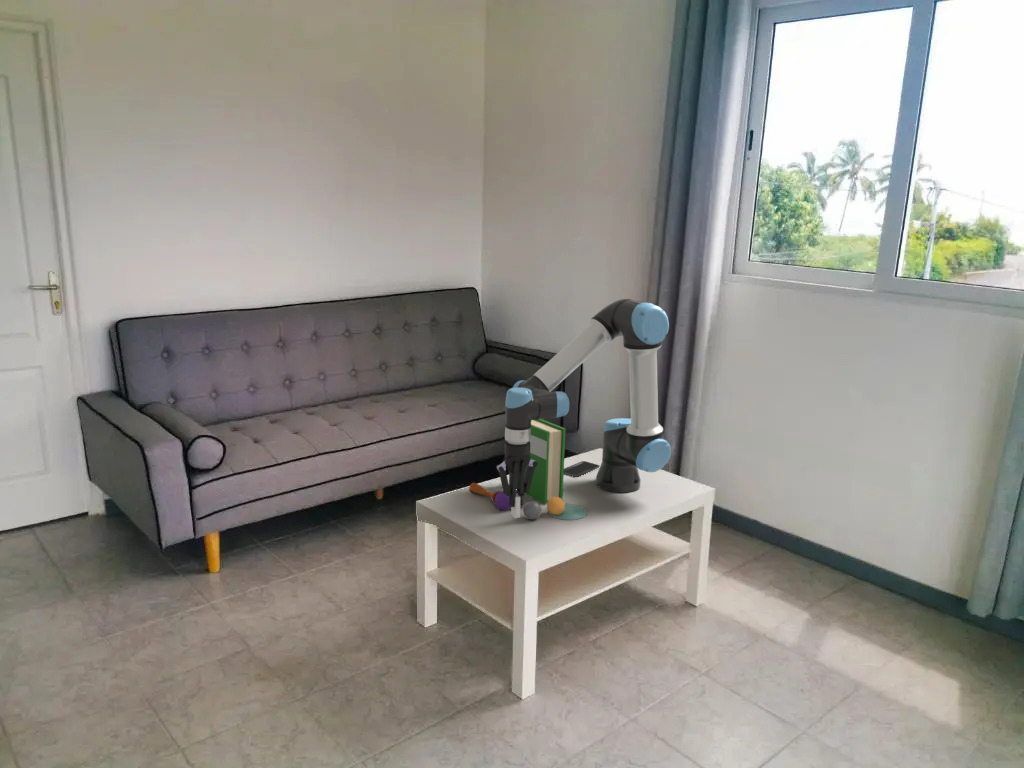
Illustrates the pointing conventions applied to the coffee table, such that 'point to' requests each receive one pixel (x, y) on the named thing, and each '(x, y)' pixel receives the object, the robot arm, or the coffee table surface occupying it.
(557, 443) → the hardback book
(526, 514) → the gray ball
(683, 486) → the coffee table surface
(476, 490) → the kendama
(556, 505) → the orange ball
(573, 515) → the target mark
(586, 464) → the phone
